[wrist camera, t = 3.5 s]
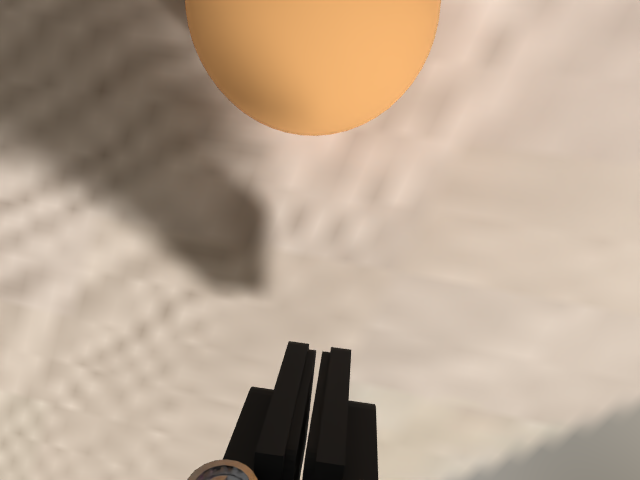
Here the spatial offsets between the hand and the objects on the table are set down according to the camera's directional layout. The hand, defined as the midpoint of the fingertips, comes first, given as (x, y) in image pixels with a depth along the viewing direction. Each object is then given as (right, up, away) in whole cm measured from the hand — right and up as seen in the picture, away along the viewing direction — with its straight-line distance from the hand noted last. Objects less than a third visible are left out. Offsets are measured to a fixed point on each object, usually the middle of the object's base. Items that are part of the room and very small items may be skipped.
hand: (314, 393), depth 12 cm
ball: (0, +9, -2) cm, 9 cm away
